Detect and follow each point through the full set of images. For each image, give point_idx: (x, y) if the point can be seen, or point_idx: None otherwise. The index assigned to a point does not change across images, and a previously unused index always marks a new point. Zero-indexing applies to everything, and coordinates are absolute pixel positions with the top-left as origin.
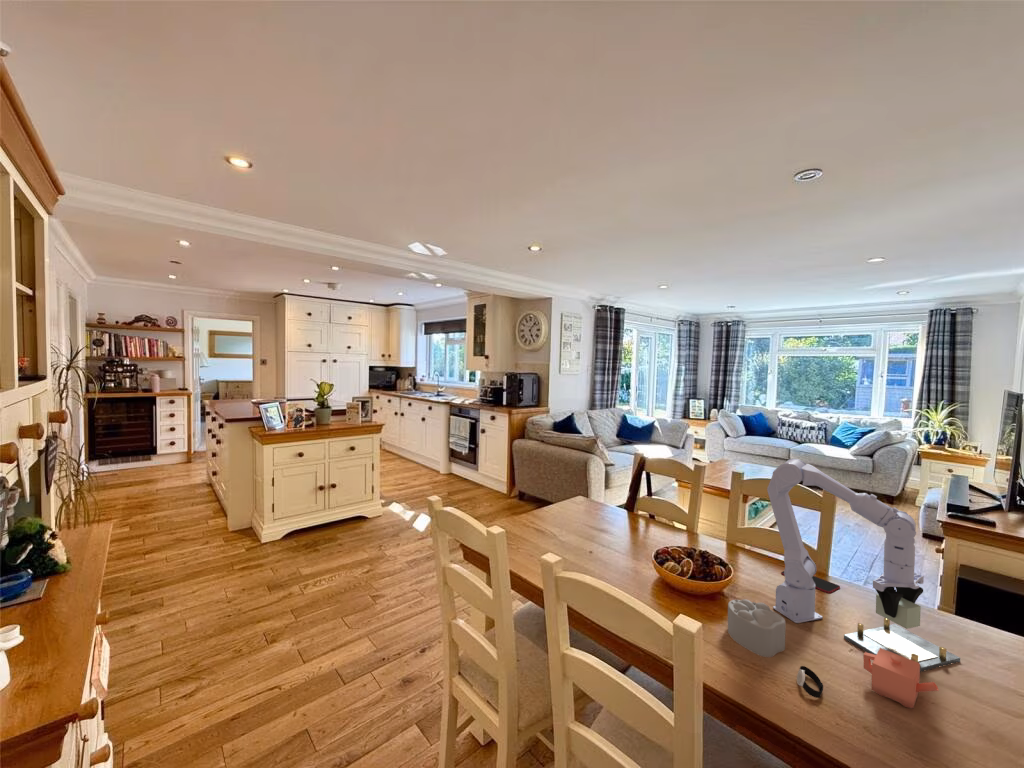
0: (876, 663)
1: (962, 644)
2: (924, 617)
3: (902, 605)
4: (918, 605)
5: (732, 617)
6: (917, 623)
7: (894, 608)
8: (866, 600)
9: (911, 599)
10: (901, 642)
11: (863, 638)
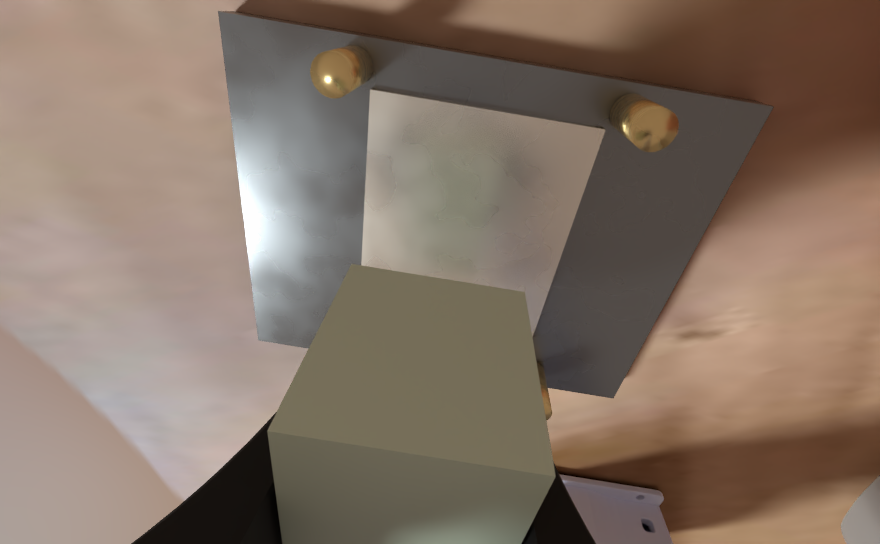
0: None
1: (28, 104)
2: (24, 304)
3: (494, 516)
4: (277, 446)
5: None
6: (380, 286)
7: (571, 501)
8: (184, 447)
9: (252, 533)
10: (420, 257)
11: (566, 351)
